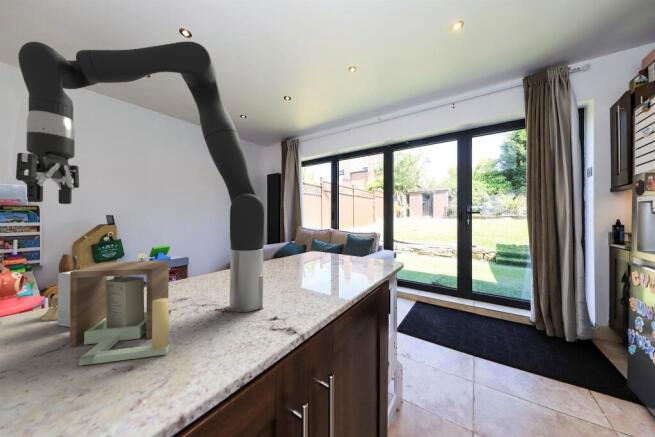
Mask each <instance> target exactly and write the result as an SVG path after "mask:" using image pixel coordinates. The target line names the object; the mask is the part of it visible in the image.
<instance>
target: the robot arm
mask: <svg viewBox="0 0 655 437" xmlns="http://www.w3.org/2000/svg"><path fill="white" fill-rule="evenodd" d="M17 58H18V63H19V68H20V71H21V75H22V78H23V81H24V84H25V87H26V90H27V91H28V114H27V118H26V145H25V146H26V151H27V152H17V154H16V156H17V157H16V173H15V180H17V181H20V182H21V181H22V182H23V183H24V185H26V198H27V199H26V200H27V201H28V202H29V203H42V202H43V201H44V183H45V182H46V180H48V179H51V180H52V182H54V183H55V184H56V185H57V186H58V188H59V189H58V204H60V205H71V204H72V199H73V198H72V190H74V189H79V188H80V177H79V176H80V174H79V173H80V171H79V166H78V165H75V164H73V165H72V164H70V163H69V160H70V159H73V158H75V143H76V142H75V141H76V140H75V138H76V137H75V136H76V135H75V134H76V131H75V130H76V129H75V125H74V102H73V101H72V99H71V97H69V95H68V94H67V93H66V92H65V90H79V89H84V88H86V87H91V86H95V85H97V84H117V83H118V84H120V83H131V82H134V81H137V80H138V81H139V80H140V79H143V78H146V77H148V76H150V75H153V74H159V73H176V74H180V75H181V77H182V79H183V80H184V83H186V85H187V87H188V89H189V92H190V93H191V96H192V98H193V99H194V102H195V105H196V107H197V110H198V115H199V121H200V122H199V123H200V127H201V131H202V136H203V140H204V142H205V144H206V147H207V150H208V153H209V155H210V157H211V159H212V162H213V164H214V165H215V167H216V169H217V171H218V173H219V174H220V176H221V178H222V180H223V182H224V184H225V187H226V190H227V194H228V196H229V199H230V203H231V204H230V208H229V241H230V254H229V256H230V259H229V261H230V264H229V268H230V269H229V270H230V271H229V309H230V310H231V311H232V312H236V313H237V312H238V313H248V312H252V311H256V310H260V309H263V308H264V306H263V305H264V243H265V241H264V239H265V206H264V203H263V202H262V200H261V198H259V196H258V194H257V193H256V190H255V188H254V185H253V184H252V180H251V178H250V174H249V170H248V165H247V160H246V157H245V153H244V149H243V145H242V142H241V139H240V136H239V133H238V131H237V128H236V127H235V124H234V122H233V120H232V118H231V116H230V114H229V112H228V111H227V108H226V107H225V105H224V101H223V98H222V95H221V91H220V88H219V83H218V80H217V72H216V70H215V65H214V62H213V59H212V56H211V54H210V52H209V51H208V50H207V48H205V46H204V45H202V44H201V43H198V42H196V41H178V42H172V43H165V44H159V45H151V46H146V47H140V48H131V49H81V50H78V51H77V52H76V54H75V59H74V60H71V59H70V60H68V59H66V58H65V57H64V56H63V55H61V54H60V53H59V52H58V51H56V50H55V49H54V47H53V48H52V46H50V45H48V44H46V43H43V42H39V41H29V42H26V43H24V44H23V45H22V46H21V47H20V49H19V51H18V56H17ZM64 89H65V90H64ZM27 170H28V171H27ZM25 171H27V172H25ZM25 173H26V174H25ZM72 180H73V182H72Z"/></svg>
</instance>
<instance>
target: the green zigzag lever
mask: <svg viewBox="0 0 655 437" xmlns="http://www.w3.org/2000/svg"><path fill="white" fill-rule="evenodd" d="M169 310H170V298H169V297H168V298H160V299H156V300H154V301H152V338H151V345H144V346H135V347H127V348H118V349H111V348H112V347H114V346H115V345H117V343H118V342H119V341H128V340H129V341H130V340H135V339H139V340H140V339H141V338H142V337H143V336H144V335H146V310H144V320H143V321H142V322H141V323H140V324H139V325H138V326H128V327H118V328H108V329H106V318H105V319H103V320H102V321H100V322H99V323H97V324H96V325H94V326H93V327H91V328H90V329H89V330H87V331H86V332H84V341H83V343H84V345H90V344H96V345H94V346H93V347H92V348H90V349H89V350H88V351H87V352H85V353H84V354H83V355H82V356H81V357H80V358H79V359H78V366H87V365H95V364H103V363H110V362H118V361H126V360H132V359H141V358H148V357H155V356H163V355H164V356H165V355H167V354H168V352H169V351H170V348H171V347H170V346H171V345H170V344H171V343H170V342H169V327H170V326H169V325H170V324H169V321H170V320H169V316H170V313H169Z"/></svg>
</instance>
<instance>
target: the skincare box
mask: <svg viewBox="0 0 655 437" xmlns="http://www.w3.org/2000/svg"><path fill="white" fill-rule="evenodd" d="M144 282H145V278H144V277H139V276H130V275H125V276H121V277H114V279H111V280H106V281H105V289H106V329H108V328H118V327H128V326H138V325H139V324H140V323H141V322H142V321H143V320H144V311H145V283H144Z"/></svg>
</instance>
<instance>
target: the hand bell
mask: <svg viewBox="0 0 655 437" xmlns="http://www.w3.org/2000/svg"><path fill="white" fill-rule="evenodd" d="M73 268H74V263H73V259H72V258H71V254H69V253H65V254H62V256H61V259H60V260H59V262H58V274H59V273H64V272H70V271H74V270H73ZM56 306H57V307H56ZM51 307H53V308H51ZM40 321H44V322H47V321H49V322H50V321H58V293H55V294H54V295H53V296H52V298H51V303H50V305H49V307H48V309H47V311H45V313H44V314H42V315H41V317H40Z"/></svg>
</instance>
